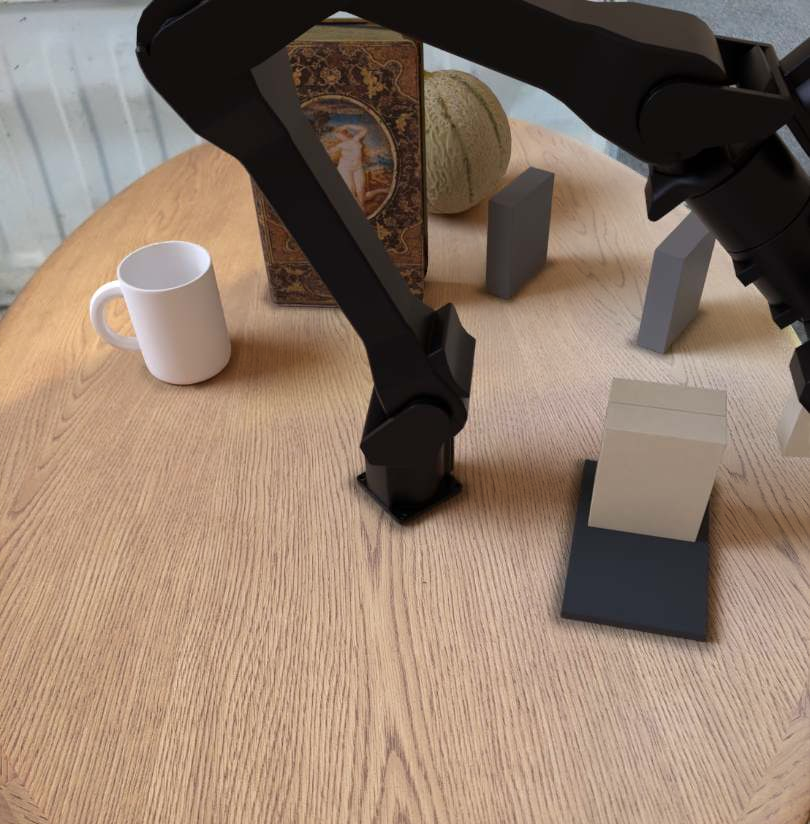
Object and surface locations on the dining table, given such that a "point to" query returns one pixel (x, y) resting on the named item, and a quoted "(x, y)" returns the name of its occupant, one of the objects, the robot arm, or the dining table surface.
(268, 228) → the book
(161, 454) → the dining table surface
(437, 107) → the cantaloupe
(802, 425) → the cream book
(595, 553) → the book mat
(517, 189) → the grey books
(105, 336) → the mug
